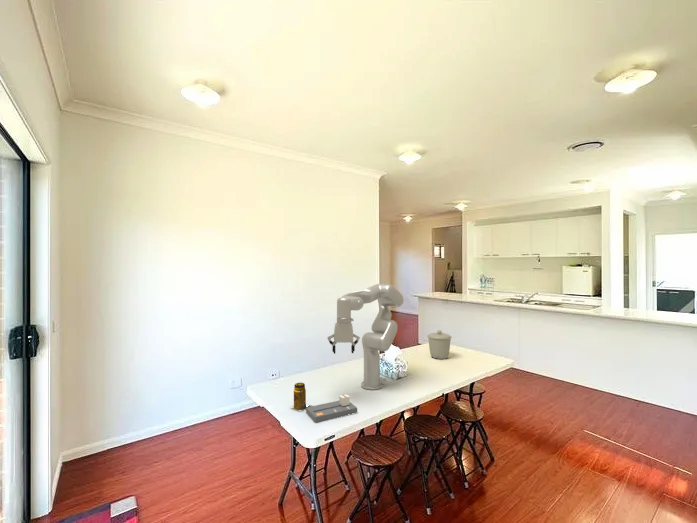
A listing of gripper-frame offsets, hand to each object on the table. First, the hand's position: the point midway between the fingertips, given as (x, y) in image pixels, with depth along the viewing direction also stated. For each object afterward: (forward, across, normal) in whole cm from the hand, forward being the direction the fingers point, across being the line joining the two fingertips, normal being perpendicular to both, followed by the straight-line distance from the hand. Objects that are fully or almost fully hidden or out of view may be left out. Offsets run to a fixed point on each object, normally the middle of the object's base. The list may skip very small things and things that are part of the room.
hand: (343, 353), depth 179 cm
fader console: (+25, +7, +14) cm, 30 cm away
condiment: (+26, +22, +6) cm, 34 cm away
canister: (+23, -82, -72) cm, 111 cm away
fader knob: (+22, +1, +11) cm, 25 cm away
